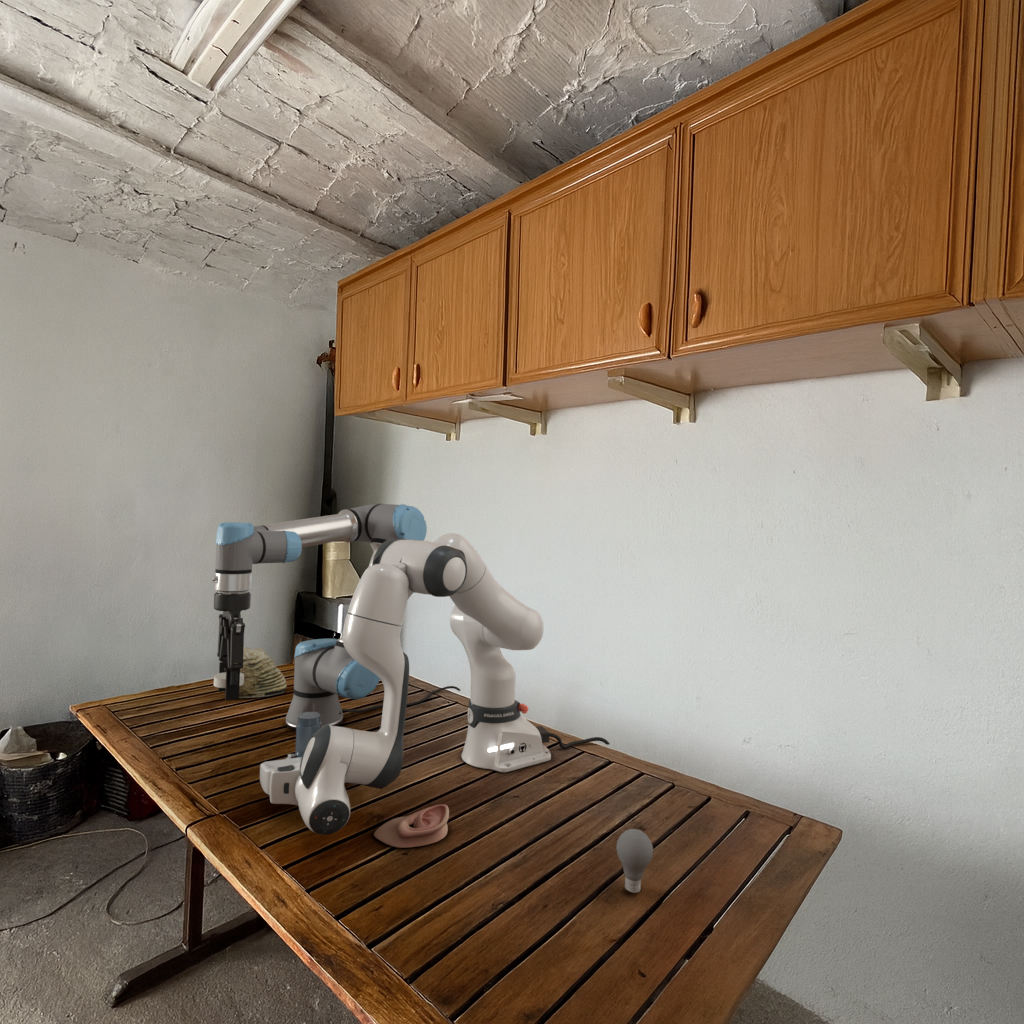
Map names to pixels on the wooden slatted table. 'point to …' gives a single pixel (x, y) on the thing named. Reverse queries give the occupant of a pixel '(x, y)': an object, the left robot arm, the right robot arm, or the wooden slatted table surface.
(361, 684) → the left robot arm
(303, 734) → the jar
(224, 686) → the lid
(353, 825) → the wooden slatted table surface
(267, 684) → the fossil
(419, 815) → the anatomical model
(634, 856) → the light bulb
